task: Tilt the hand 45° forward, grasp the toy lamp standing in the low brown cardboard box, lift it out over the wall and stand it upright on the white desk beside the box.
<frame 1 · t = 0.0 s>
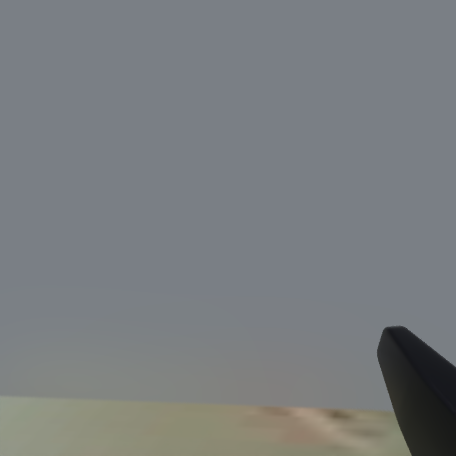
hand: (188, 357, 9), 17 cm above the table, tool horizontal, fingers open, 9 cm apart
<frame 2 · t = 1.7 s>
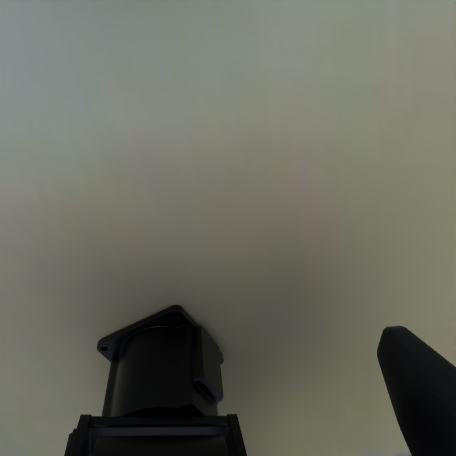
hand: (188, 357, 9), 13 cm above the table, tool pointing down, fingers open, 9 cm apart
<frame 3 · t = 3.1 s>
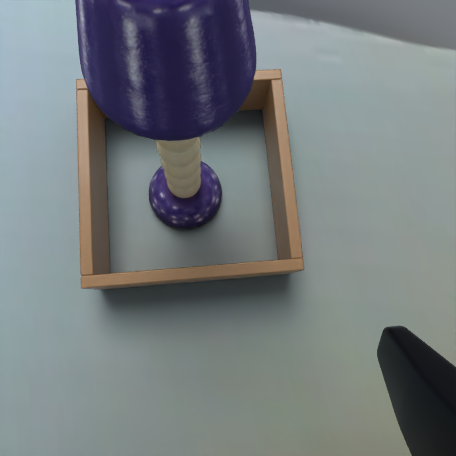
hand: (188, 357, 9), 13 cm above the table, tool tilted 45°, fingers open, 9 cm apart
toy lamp: (190, 190, 24), resting in box
box: (190, 190, 23), on the table
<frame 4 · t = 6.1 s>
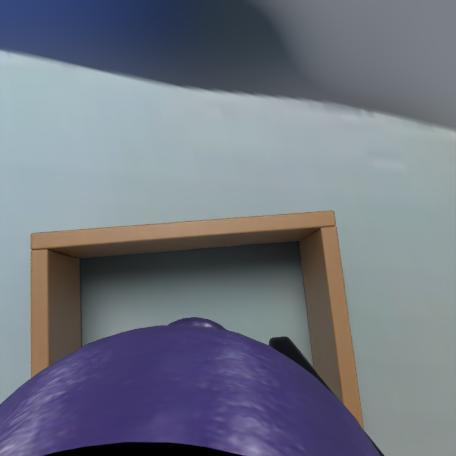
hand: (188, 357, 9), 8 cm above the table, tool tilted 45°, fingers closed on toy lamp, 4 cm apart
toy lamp: (199, 362, 17), resting in box, touching gripper
box: (199, 363, 17), on the table
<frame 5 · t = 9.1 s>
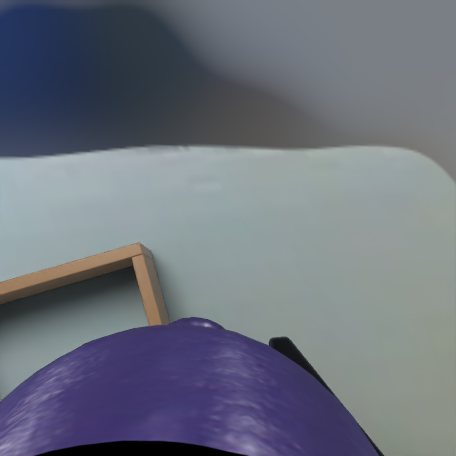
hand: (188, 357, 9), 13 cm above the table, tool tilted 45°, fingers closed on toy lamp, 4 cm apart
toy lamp: (199, 362, 17), point 5 cm above the table, touching gripper
box: (78, 374, 21), on the table
when the fingers open (8 cm above the table, at t = 12.1 s): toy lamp stays where it is, on the table.
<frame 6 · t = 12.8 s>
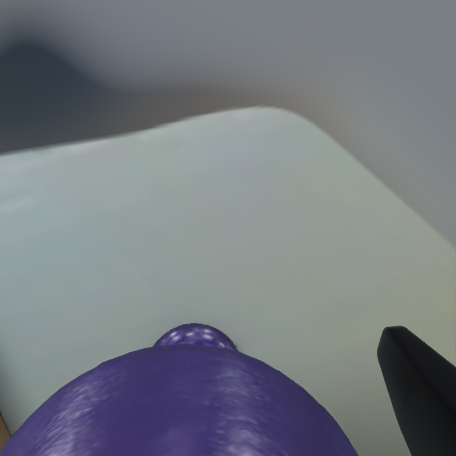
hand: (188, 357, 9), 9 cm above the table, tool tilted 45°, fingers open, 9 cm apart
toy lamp: (199, 366, 17), on the table
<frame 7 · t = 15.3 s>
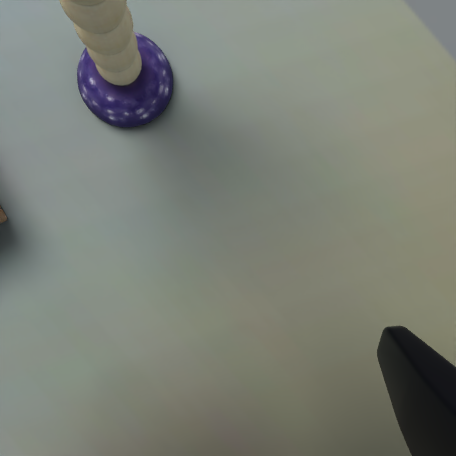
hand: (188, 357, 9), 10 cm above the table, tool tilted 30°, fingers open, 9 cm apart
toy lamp: (132, 77, 18), on the table
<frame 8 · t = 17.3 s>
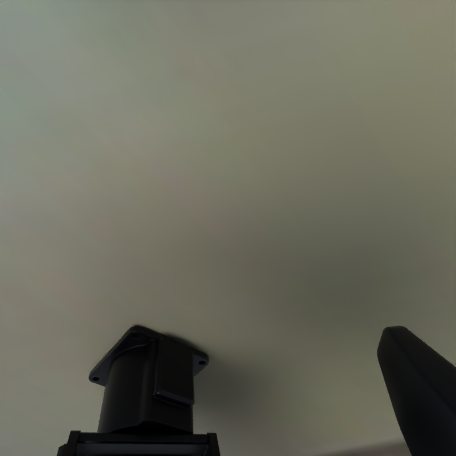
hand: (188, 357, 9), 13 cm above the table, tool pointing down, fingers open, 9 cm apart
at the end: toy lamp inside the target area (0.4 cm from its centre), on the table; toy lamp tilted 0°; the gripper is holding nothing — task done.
